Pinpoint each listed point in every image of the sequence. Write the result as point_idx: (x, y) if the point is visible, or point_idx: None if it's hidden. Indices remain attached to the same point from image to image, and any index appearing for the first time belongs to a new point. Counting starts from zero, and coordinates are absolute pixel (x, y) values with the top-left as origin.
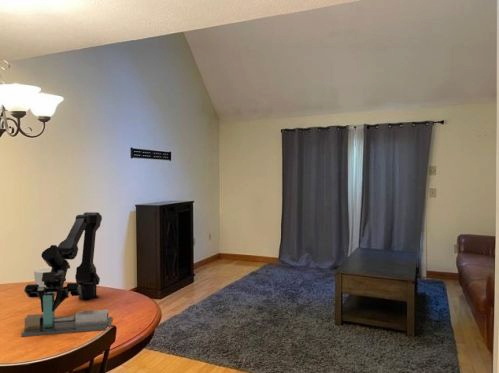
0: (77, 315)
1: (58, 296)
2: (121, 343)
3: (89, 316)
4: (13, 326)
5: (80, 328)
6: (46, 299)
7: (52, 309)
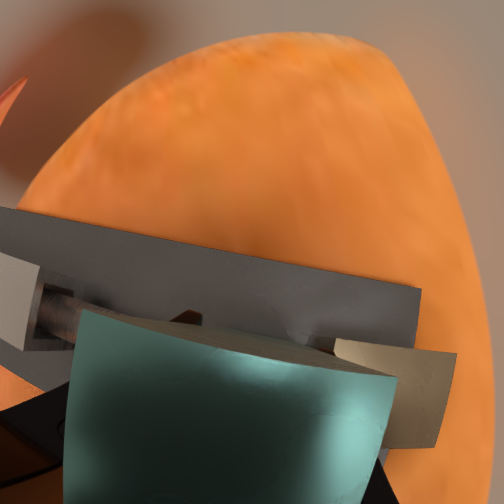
0: (30, 263)
1: (32, 424)
2: (19, 85)
3: None
4: (460, 469)
5: (68, 230)
6: (270, 350)
7: (191, 317)
